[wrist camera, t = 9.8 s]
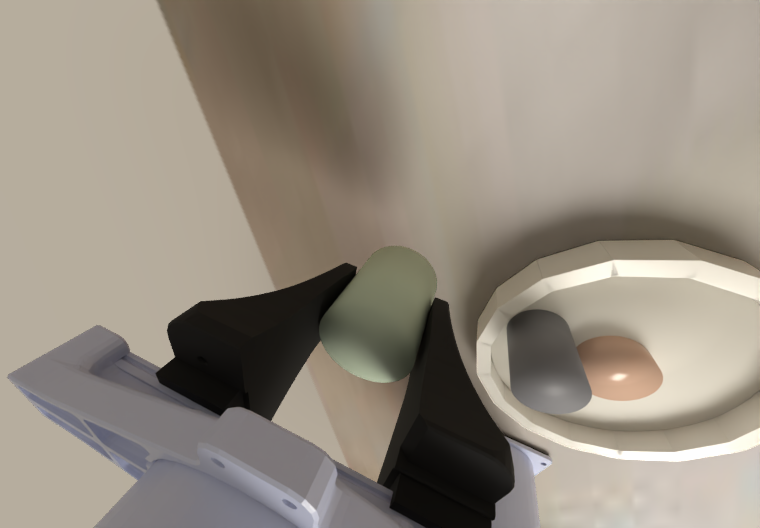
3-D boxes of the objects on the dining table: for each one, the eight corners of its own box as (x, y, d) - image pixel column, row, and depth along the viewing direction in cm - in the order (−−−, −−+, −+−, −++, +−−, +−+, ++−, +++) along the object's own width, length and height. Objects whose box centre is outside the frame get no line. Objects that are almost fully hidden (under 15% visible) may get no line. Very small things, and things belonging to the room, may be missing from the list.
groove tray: (645, 454, 23) (660, 489, 21) (448, 370, 26) (445, 392, 24) (904, 309, 13) (978, 346, 11) (547, 201, 16) (555, 215, 14)
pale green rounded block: (423, 319, 15) (399, 396, 11) (359, 293, 16) (315, 356, 12) (448, 262, 13) (429, 332, 9) (372, 235, 14) (323, 288, 10)
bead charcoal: (550, 360, 20) (564, 423, 16) (497, 338, 21) (498, 394, 17) (583, 323, 18) (609, 386, 14) (522, 301, 19) (531, 354, 15)
